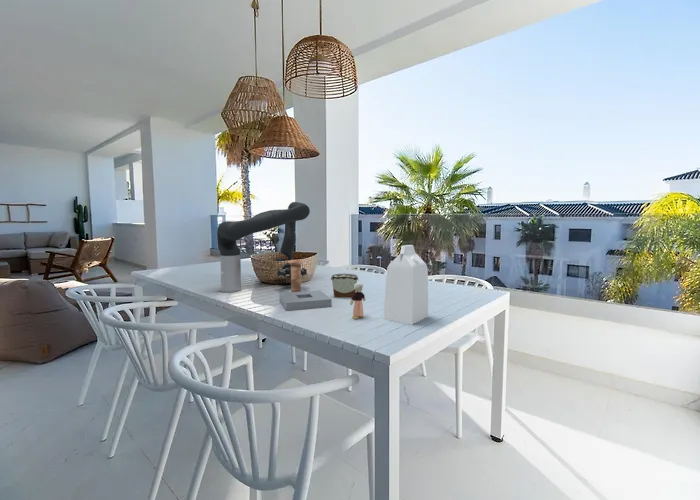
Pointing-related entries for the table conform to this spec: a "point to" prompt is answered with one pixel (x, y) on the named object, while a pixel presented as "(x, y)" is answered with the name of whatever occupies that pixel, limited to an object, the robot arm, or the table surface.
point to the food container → (344, 285)
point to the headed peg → (295, 275)
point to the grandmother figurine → (358, 301)
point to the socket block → (304, 300)
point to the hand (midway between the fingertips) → (294, 274)
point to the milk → (406, 288)
